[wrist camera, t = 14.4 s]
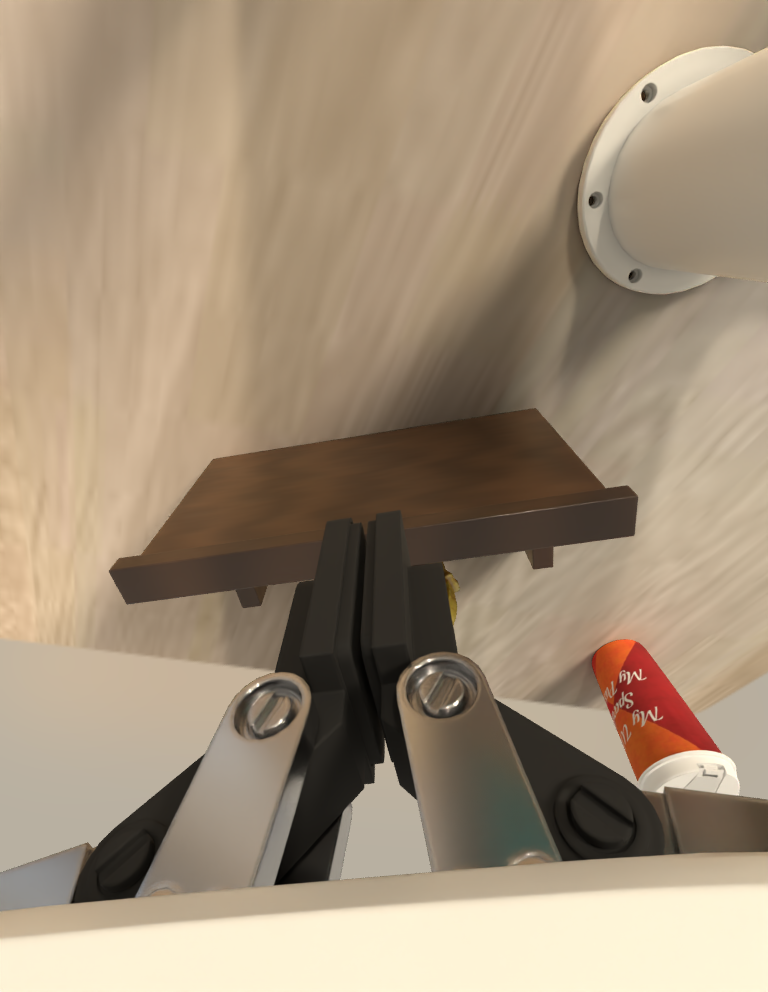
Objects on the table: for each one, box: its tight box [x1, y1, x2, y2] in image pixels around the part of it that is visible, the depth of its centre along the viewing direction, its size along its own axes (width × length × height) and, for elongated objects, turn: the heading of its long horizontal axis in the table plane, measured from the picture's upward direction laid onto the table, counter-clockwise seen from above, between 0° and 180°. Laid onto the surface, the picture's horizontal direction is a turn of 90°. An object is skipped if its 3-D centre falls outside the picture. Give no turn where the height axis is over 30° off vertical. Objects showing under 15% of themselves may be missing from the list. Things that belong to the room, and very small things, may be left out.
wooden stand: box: [109, 408, 638, 608], centre depth 34 cm, size 28×12×15 cm, turn 99°
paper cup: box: [592, 640, 740, 796], centre depth 44 cm, size 8×8×14 cm
